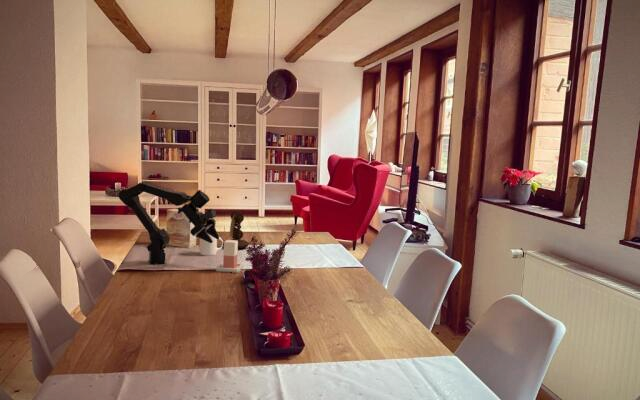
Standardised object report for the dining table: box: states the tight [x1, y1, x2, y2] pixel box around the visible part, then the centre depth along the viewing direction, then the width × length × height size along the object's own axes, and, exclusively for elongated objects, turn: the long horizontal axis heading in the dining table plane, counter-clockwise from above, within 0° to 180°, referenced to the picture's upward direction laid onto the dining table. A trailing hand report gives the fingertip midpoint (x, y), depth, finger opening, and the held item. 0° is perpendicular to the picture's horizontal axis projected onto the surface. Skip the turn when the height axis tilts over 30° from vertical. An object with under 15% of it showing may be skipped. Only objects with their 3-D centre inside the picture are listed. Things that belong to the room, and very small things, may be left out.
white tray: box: [215, 262, 244, 274], centre depth 225 cm, size 10×10×2 cm
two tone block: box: [222, 239, 239, 268], centre depth 224 cm, size 5×5×12 cm
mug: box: [199, 234, 224, 257], centre depth 252 cm, size 9×12×11 cm
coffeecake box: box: [165, 208, 197, 249], centre depth 267 cm, size 15×7×20 cm, turn 73°
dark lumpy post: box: [222, 210, 250, 249], centre depth 271 cm, size 15×15×20 cm
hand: (215, 240), depth 224 cm, fingers open, 9 cm apart
